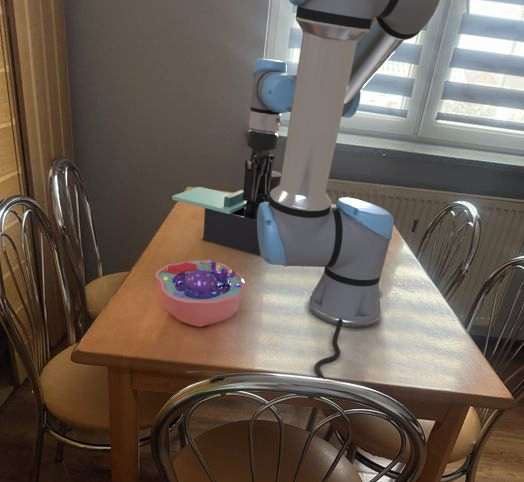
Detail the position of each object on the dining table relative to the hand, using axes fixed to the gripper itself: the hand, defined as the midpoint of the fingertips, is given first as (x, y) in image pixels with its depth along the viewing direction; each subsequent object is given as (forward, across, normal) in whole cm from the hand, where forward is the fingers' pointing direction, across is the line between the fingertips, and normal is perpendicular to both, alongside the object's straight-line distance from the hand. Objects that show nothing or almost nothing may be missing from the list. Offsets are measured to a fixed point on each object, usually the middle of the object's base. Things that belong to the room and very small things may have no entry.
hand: (253, 223), depth 137 cm
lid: (-3, 0, +12) cm, 13 cm away
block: (0, 0, 0) cm, 0 cm away
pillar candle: (+6, +25, +8) cm, 27 cm away
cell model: (+6, -46, -10) cm, 47 cm away
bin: (+6, 0, +3) cm, 6 cm away
